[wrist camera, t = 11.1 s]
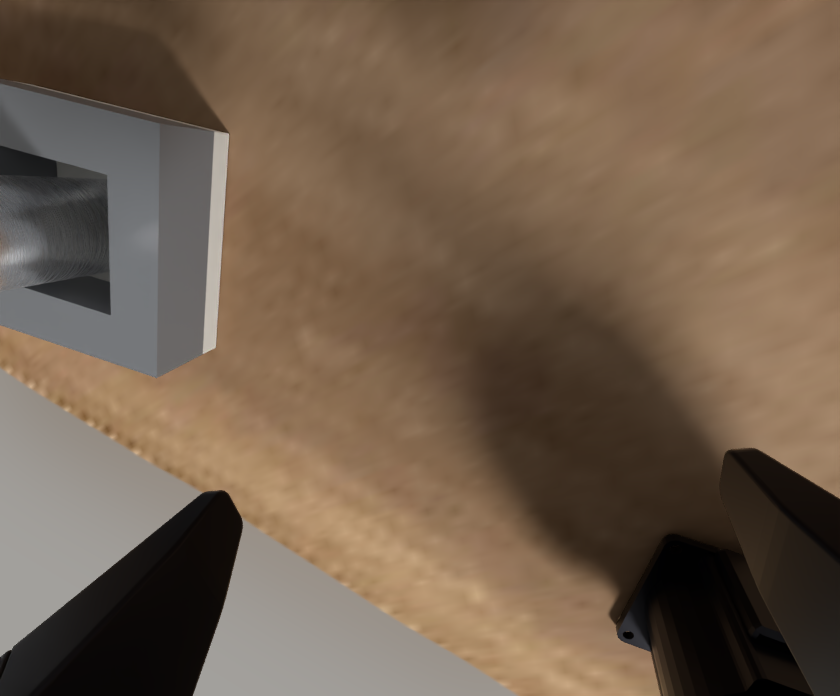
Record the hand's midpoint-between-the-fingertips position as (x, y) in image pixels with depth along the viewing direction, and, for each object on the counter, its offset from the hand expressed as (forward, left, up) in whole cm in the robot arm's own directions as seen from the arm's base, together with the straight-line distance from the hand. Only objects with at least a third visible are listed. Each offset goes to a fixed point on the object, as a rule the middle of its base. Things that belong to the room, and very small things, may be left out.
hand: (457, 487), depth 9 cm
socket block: (-1, +18, -12) cm, 22 cm away
